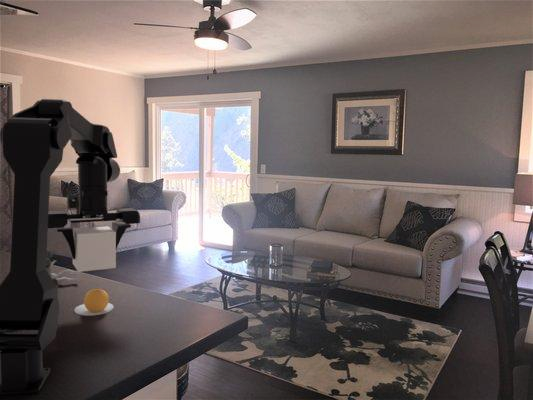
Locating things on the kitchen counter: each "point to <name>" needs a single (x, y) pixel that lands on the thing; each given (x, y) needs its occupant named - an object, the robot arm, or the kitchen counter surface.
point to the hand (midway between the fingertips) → (93, 256)
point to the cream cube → (94, 248)
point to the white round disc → (83, 311)
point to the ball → (96, 300)
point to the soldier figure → (61, 275)
